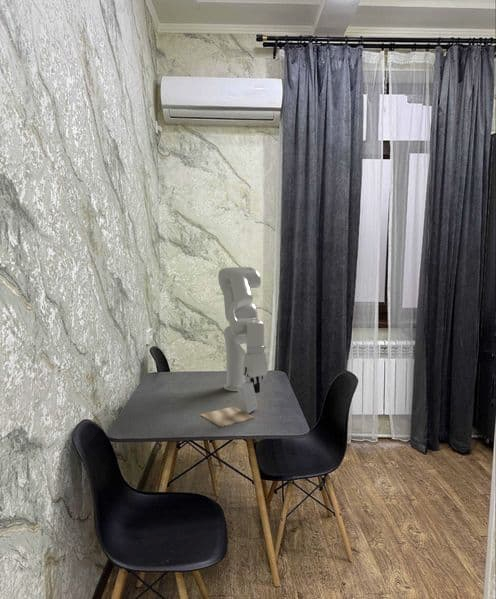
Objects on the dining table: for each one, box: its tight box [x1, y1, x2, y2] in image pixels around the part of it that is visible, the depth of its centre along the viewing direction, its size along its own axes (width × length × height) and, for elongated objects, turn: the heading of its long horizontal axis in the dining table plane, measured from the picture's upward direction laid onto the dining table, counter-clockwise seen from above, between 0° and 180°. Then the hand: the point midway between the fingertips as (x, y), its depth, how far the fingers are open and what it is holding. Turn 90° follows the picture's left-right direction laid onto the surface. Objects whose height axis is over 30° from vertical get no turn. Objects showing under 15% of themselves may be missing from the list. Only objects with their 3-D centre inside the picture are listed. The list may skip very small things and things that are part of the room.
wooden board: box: [200, 406, 255, 428], centre depth 184 cm, size 16×16×1 cm
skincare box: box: [236, 381, 259, 415], centre depth 189 cm, size 6×4×12 cm
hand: (256, 392), depth 192 cm, fingers closed
